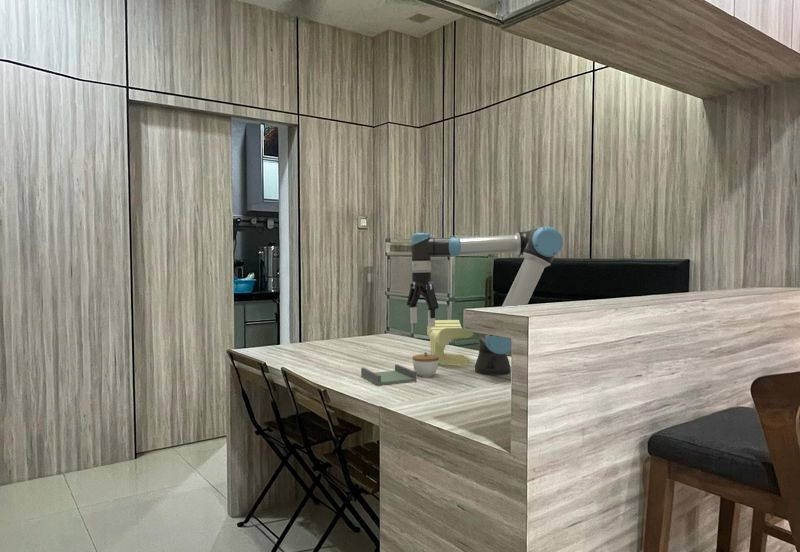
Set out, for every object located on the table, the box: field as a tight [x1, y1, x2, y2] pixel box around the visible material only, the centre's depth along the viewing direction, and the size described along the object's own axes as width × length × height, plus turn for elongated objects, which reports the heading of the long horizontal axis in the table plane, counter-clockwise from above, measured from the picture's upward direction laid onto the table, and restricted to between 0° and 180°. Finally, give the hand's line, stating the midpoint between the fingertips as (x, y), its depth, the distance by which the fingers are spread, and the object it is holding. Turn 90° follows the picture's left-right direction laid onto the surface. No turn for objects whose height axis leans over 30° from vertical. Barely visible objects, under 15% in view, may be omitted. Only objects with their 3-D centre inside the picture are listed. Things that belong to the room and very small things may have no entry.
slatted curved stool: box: [426, 319, 475, 366], centre depth 249 cm, size 30×16×18 cm, turn 7°
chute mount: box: [360, 363, 417, 387], centre depth 213 cm, size 16×17×4 cm
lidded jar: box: [412, 352, 439, 378], centre depth 220 cm, size 11×11×9 cm
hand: (422, 324), depth 213 cm, fingers open, 13 cm apart
